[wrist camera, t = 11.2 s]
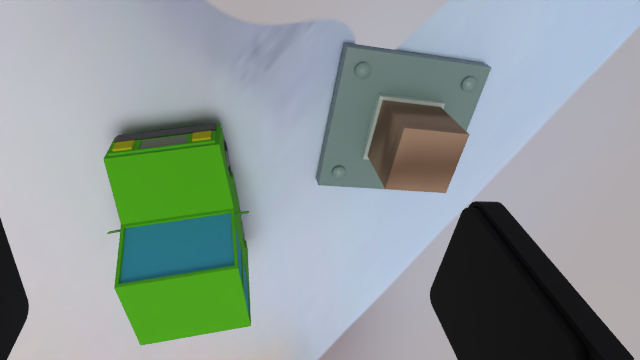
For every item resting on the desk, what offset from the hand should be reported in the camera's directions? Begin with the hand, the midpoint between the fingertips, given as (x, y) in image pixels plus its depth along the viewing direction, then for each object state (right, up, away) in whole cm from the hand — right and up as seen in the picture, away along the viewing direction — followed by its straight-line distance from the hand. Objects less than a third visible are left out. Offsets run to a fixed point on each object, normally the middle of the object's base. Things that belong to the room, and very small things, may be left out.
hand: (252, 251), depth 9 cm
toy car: (-10, +1, +28) cm, 29 cm away
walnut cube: (+8, +5, +26) cm, 28 cm away
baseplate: (+8, +6, +27) cm, 29 cm away
